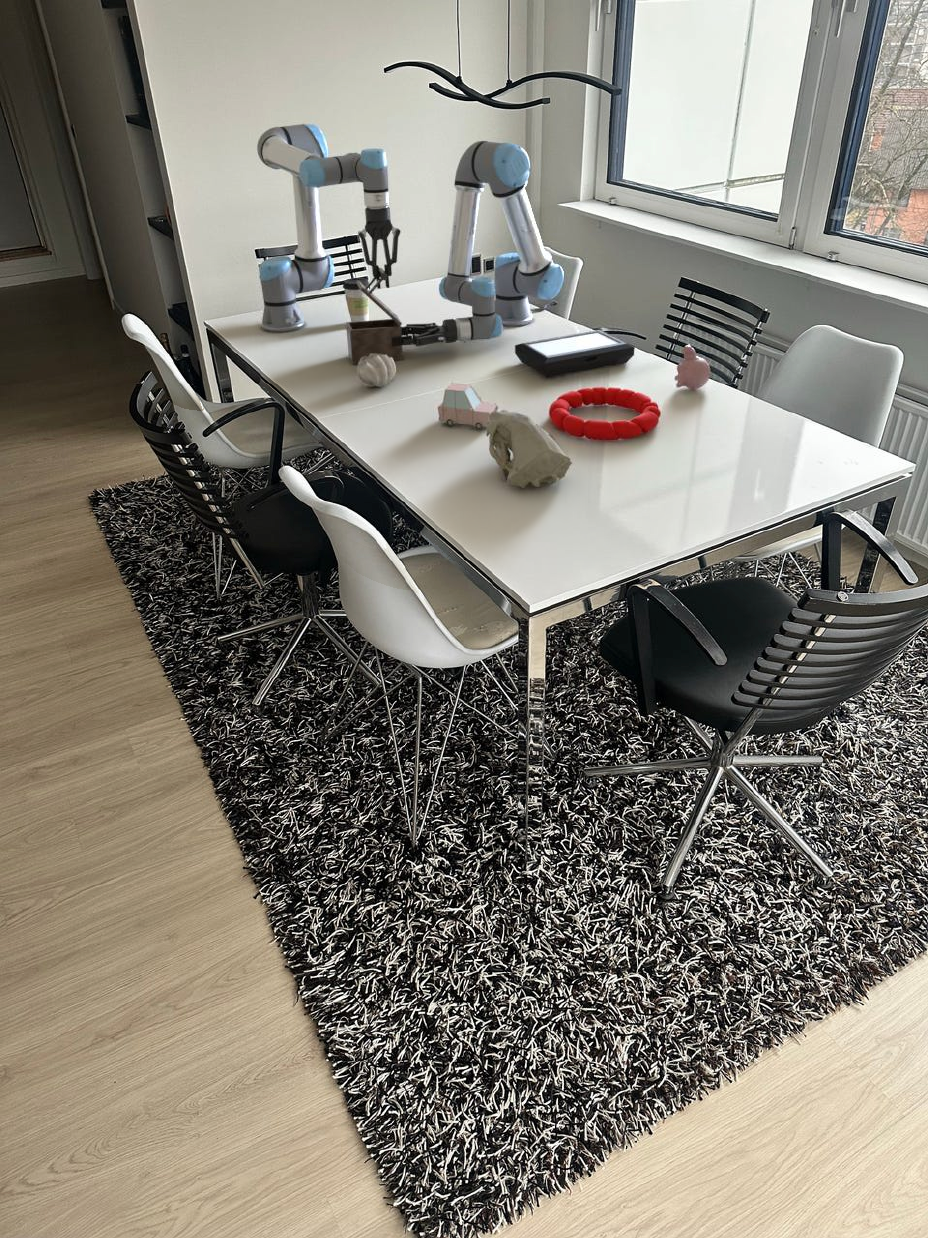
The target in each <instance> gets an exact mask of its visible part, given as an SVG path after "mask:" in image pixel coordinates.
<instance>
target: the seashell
mask: <svg viewBox="0 0 928 1238" xmlns="http://www.w3.org/2000/svg"><path fill="white" fill-rule="evenodd" d="M396 367H397V365H396V363H395V360H393V358H392V357H390V358H389V357H388V356H387V355H386V354H385V355H383V354H376V353H375V354H372V353H371V354H370V355H369V356H363V357H361V359H360V361H359V363H358V364H357V368H356V373H357V376H358V379H359V381H360V382H361V383H362V384H363V385H365V386H367V387H370V388H372V387H375V386H376V387H381V388H382V387H385V386H388V384H389V383H391V381H392V380H393V378H394V377H395V375H396V372H397V368H396Z"/></svg>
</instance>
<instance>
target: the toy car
mask: <svg viewBox="0 0 928 1238" xmlns="http://www.w3.org/2000/svg"><path fill="white" fill-rule="evenodd" d="M498 409H499V404H498V403H497V402H490V401H489V402H487V401H483V397H481V396H480V395H479V394H478V393H477V391H476V390H475V389H474V386H472V384H469V383H459V382H451V383H450V384H449V385H448V386H447V387H446V388H445V389H444V394H443V399H442V403H440V404H439V405H438V406H437V413H438V421H439V422H443V423H446V425H447V426H448V427H452V426H454V425H455V424H461V425H469V426H473V427H475V429H476V430H479V431H480V430H481V429H483V428H485V427H486V428H487V423H488V422H490V414H491V413H492V412H496V411H499V410H498Z"/></svg>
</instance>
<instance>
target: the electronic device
mask: <svg viewBox="0 0 928 1238" xmlns="http://www.w3.org/2000/svg"><path fill="white" fill-rule="evenodd" d="M635 349H636V347H635V346H633V345H632V344H630V343H628V342H625V341H623V340H621V339H619V338H618V337H615V335H611V333H610V334H609V333H608V332H605V330H602V329H597V330H596V329H595V330H590V331H585V332H580V333H574V334H568V335H567V334H566V335H562V336H556V337H551V338H550V337H549V338H546V339H539V340H533V341H528V342H527V341H526V342H521V343H518V344H515V345H514V354H515V355H516V357H517V358H518V360H519V361H520V362H521V363H522V364H524V365H525V366H527V367H528V368H530V369H532V370H533V371H535V372H537V373H538V374H540V375H541V376H543V377H545V378H546V379H548V378H553V377H558V376H559V377H560V376H563V375H569V374H574V373H575V374H576V373H581V372H585V371H592V370H596V369H602V368H607V367H613V366H619V365H624V364H627V363H628V362H629V361H630V360H631V359H632V358H633V357H634V356H635Z"/></svg>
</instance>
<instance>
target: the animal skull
mask: <svg viewBox="0 0 928 1238" xmlns="http://www.w3.org/2000/svg"><path fill="white" fill-rule="evenodd" d="M485 436H486V438H487V437H489V438H488V440H489V444H488V445H489V446H488V450H489V454H490V456H491V457H492V458H493V459H494V460H495V462H496V464H497V466H499V468H500V470H501V471H502V472H501V478H502V479H507V480H506V484H507V486H517V487H518V486H519V488H523V489H524V488H526V486H527V485H529V483H531V485H533V486H534V487H536V488H540V485H541V484H542V482H544V483H549V484H550V485H553V484H555V483H556V482H557V480H561V479H563V478H565V476H566V474H567V472H568V471H569V469H570V467H571V466H572V464H573V462H572V461H571V458H570V457H568V456H567V455H565V453H564V451H562V449H561V448H560V446H559V444H557V443H556V439H555V438H554V436H553V435H551V434H550V433H548V432H547V431H546V430H545V429H544V428H542V427H541V426H539V425H538V424H537V423H536V424H535V422H534V421H533V419H532V418H531V417H530V416H529V415H527V414H524V413H519V412H515V411H509V410H507V409H502V410H500V411H499V410H497V411H496V412H492V413H491V414H490V422H488V423H487V427H486V435H485ZM511 453H512V454H511ZM511 455H512V457H513V458H512V460H511ZM507 474H508V475H507Z"/></svg>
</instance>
